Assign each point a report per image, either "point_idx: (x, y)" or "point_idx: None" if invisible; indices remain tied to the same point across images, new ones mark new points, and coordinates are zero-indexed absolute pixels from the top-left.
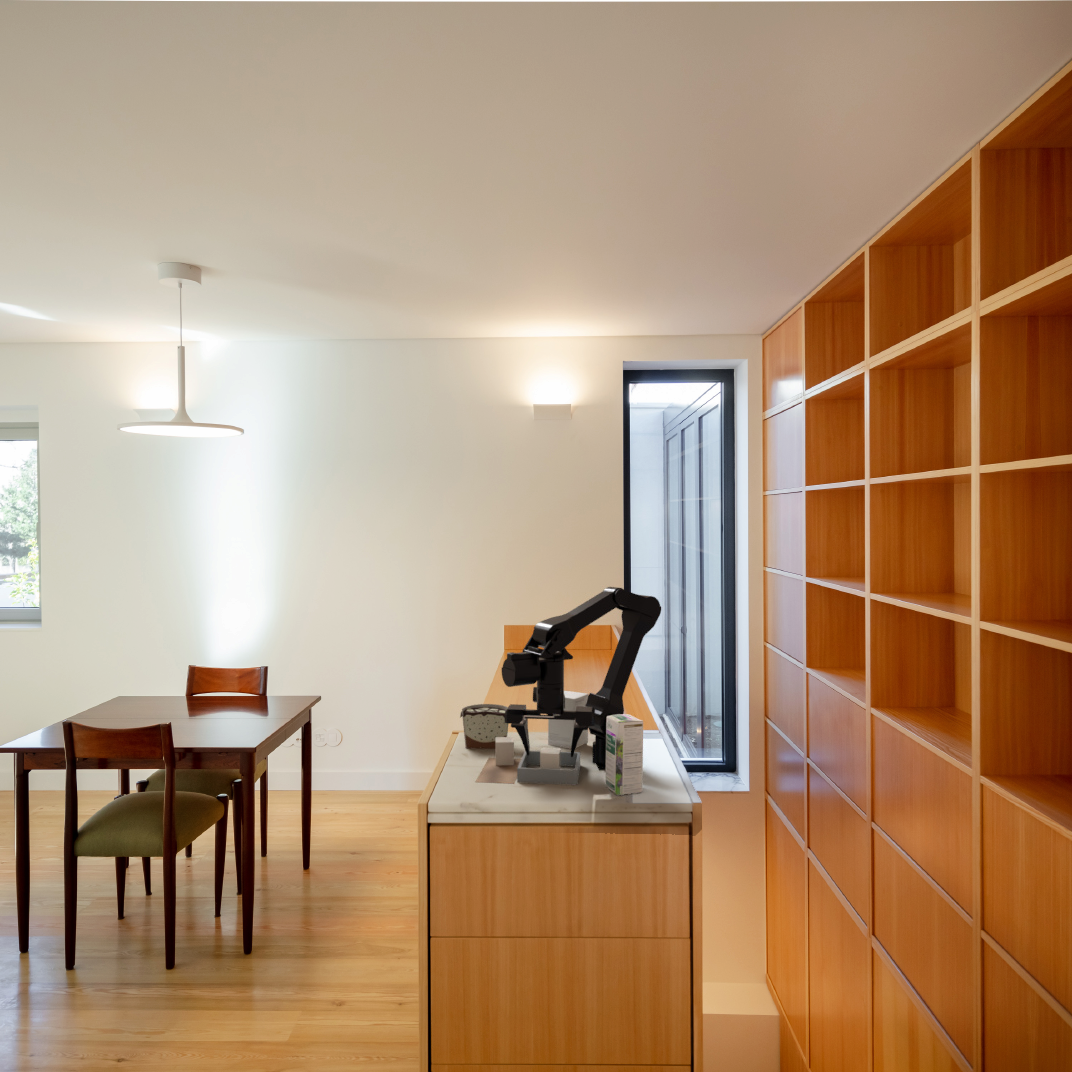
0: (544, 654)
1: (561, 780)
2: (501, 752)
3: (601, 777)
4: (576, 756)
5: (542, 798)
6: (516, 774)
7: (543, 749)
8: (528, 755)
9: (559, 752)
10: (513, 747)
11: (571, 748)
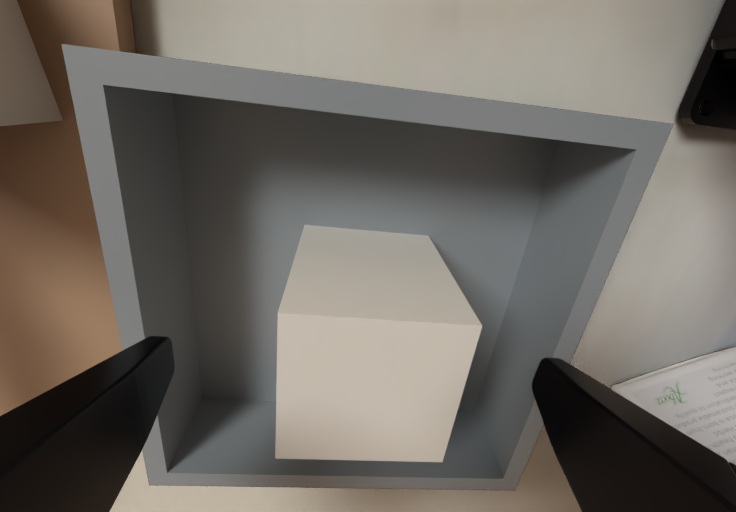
0: None
1: None
2: None
3: (647, 266)
4: (605, 146)
5: (324, 493)
6: None
7: (298, 372)
8: (169, 369)
9: (449, 433)
10: None
11: (571, 484)
